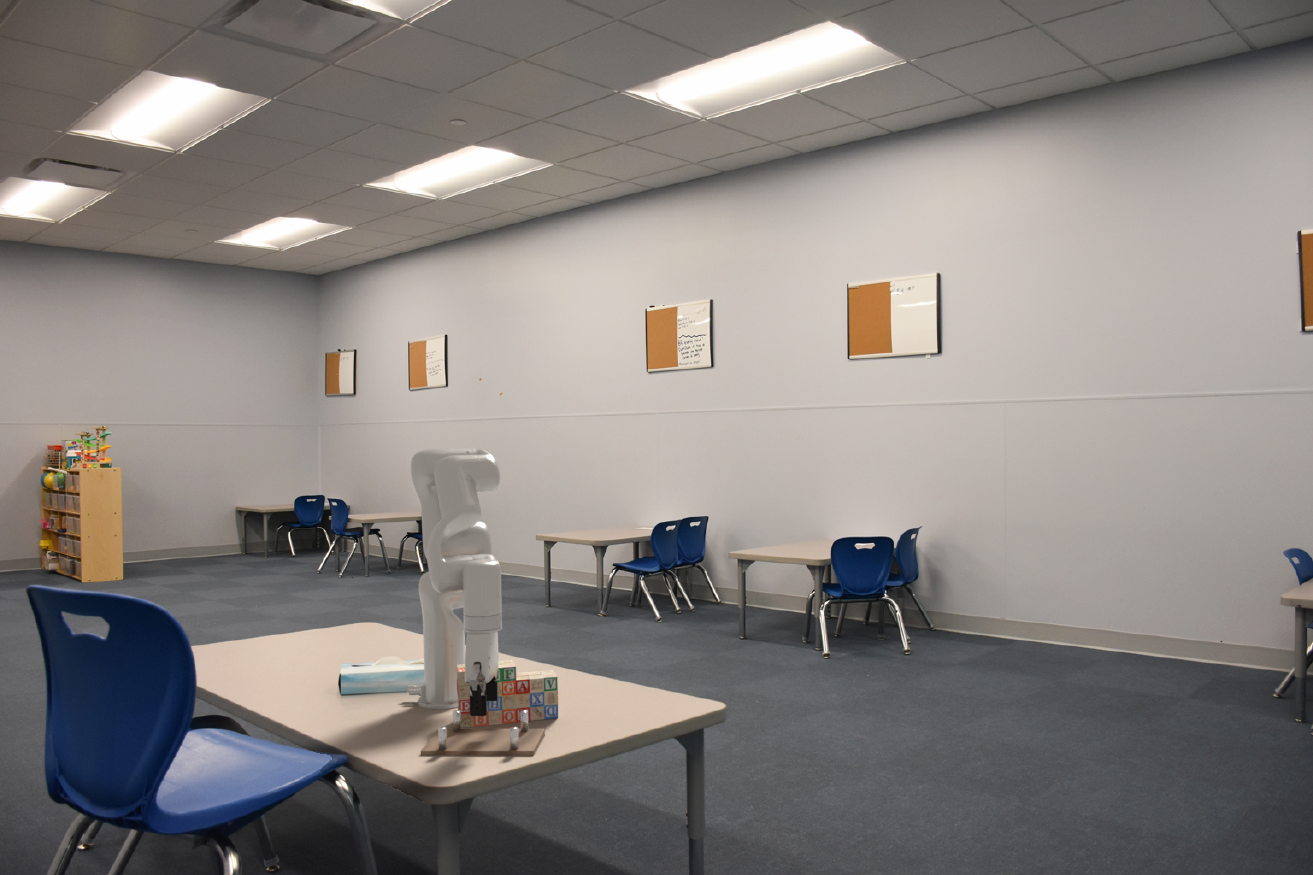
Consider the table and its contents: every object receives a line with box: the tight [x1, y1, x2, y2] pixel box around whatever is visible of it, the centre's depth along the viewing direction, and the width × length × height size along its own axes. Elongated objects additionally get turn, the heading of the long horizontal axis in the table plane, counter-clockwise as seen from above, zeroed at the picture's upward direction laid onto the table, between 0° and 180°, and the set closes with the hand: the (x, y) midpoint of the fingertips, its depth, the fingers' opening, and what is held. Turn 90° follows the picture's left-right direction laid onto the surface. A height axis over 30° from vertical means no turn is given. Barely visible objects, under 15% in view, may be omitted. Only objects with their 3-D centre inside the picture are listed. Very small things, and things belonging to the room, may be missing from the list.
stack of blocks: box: [457, 659, 559, 728], centre depth 201 cm, size 21×6×12 cm, turn 105°
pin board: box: [420, 709, 546, 757], centre depth 183 cm, size 22×13×6 cm, turn 88°
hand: (484, 707), depth 183 cm, fingers open, 9 cm apart
